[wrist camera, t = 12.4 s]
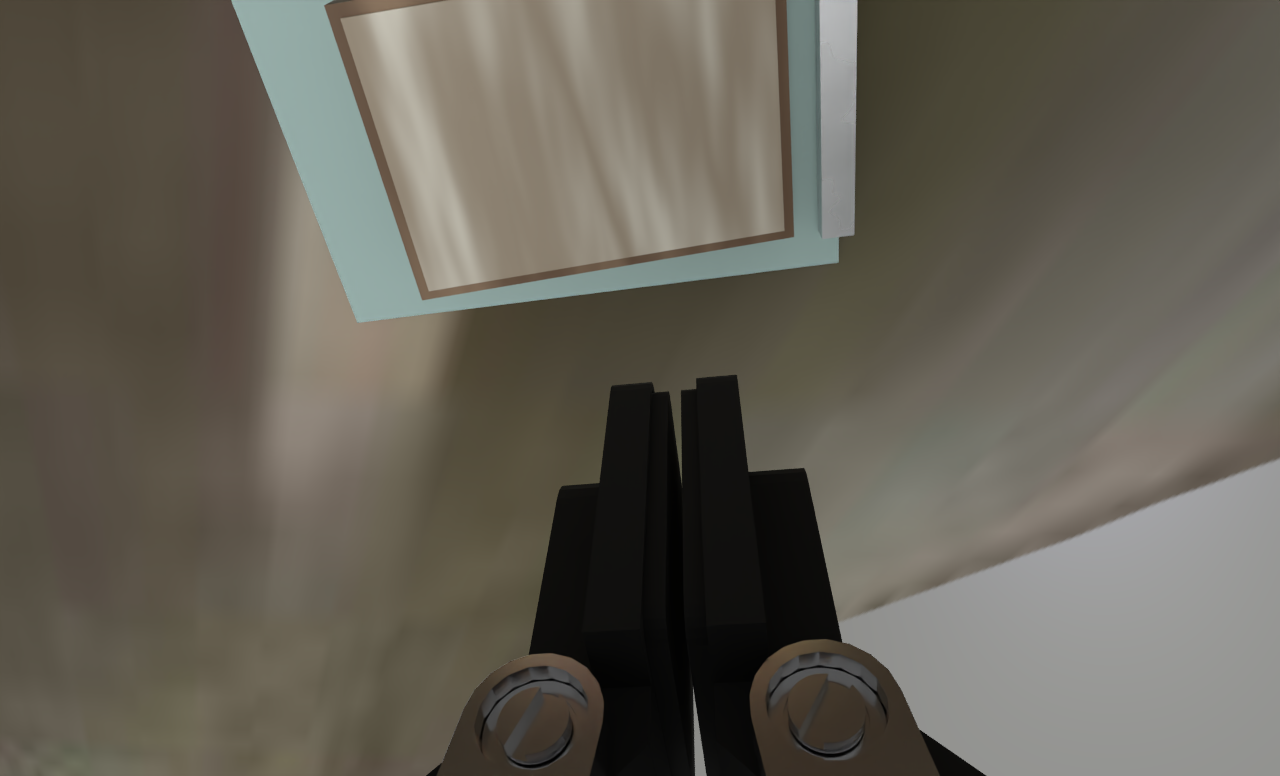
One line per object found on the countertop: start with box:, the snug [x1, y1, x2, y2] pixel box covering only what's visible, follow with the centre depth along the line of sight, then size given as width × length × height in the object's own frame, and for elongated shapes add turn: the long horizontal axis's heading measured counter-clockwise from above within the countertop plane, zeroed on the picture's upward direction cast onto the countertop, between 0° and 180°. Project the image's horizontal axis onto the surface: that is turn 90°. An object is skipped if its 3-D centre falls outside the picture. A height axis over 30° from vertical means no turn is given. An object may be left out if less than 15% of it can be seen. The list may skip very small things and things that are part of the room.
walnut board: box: [324, 0, 794, 300], centre depth 26 cm, size 1×10×14 cm
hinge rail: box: [815, 0, 857, 239], centre depth 27 cm, size 1×11×1 cm, turn 8°
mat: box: [231, 0, 839, 323], centre depth 28 cm, size 20×14×1 cm
